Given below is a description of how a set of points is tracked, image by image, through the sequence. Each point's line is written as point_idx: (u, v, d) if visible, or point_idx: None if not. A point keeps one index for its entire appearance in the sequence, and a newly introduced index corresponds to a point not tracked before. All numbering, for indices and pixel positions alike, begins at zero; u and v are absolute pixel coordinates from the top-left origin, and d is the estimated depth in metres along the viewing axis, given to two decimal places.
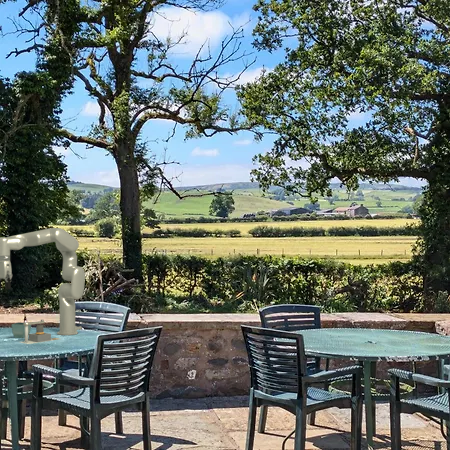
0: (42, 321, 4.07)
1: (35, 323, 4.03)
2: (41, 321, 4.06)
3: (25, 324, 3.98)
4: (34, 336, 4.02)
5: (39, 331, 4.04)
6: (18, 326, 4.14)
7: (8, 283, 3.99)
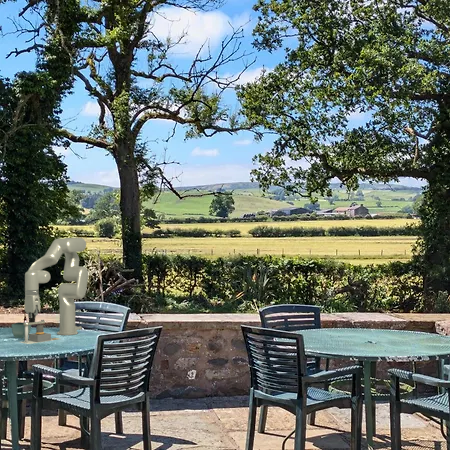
0: (43, 321, 4.06)
1: (35, 323, 4.03)
2: (41, 321, 4.06)
3: (25, 324, 3.98)
4: (34, 336, 4.02)
5: (39, 331, 4.04)
6: (18, 326, 4.14)
7: (33, 319, 4.03)
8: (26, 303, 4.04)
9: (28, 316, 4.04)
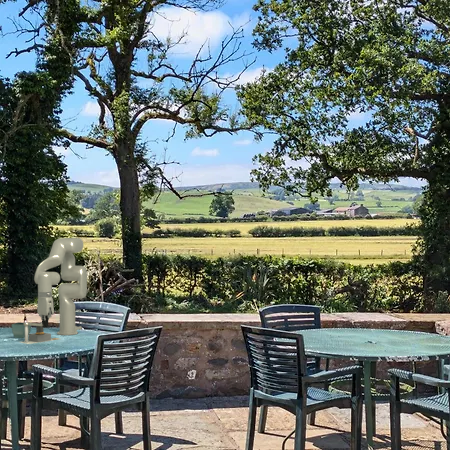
0: (40, 324, 3.94)
1: (33, 325, 3.96)
2: (39, 324, 3.95)
3: None
4: (34, 336, 4.02)
5: (39, 331, 4.04)
6: (18, 326, 4.14)
7: (46, 321, 3.95)
8: (39, 305, 3.96)
9: (41, 319, 3.96)
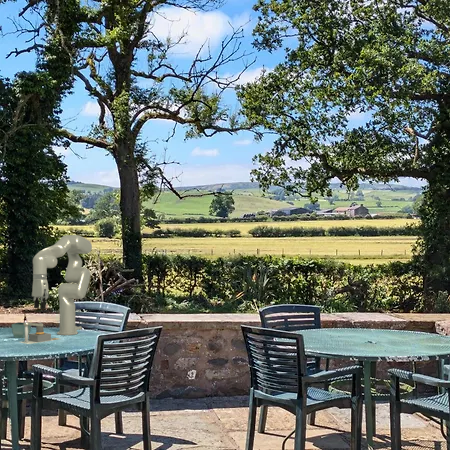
0: (39, 324, 3.94)
1: (33, 325, 3.96)
2: (38, 324, 3.94)
3: None
4: (34, 336, 4.02)
5: (39, 331, 4.04)
6: (18, 326, 4.14)
7: (43, 303, 4.03)
8: (34, 287, 4.06)
9: None
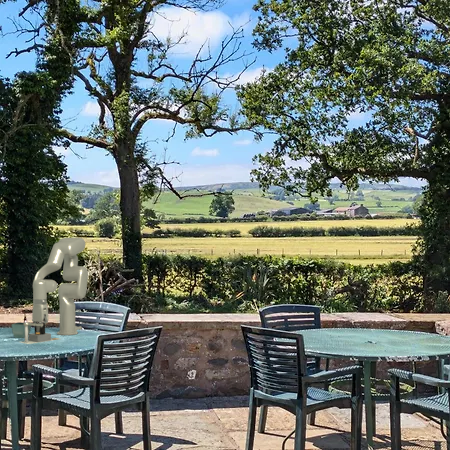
0: (39, 324, 3.94)
1: (33, 325, 3.96)
2: (38, 324, 3.94)
3: None
4: (34, 336, 4.02)
5: (39, 331, 4.04)
6: (18, 326, 4.14)
7: (43, 328, 4.03)
8: (34, 312, 4.05)
9: None
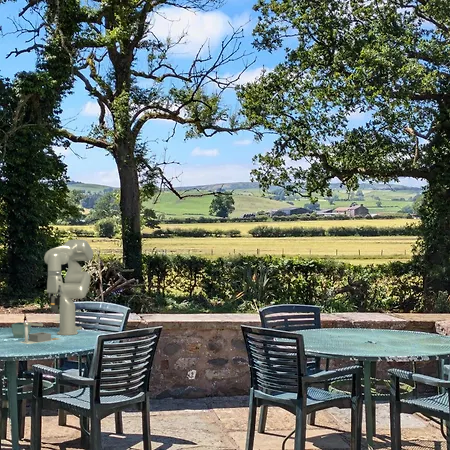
0: (39, 324, 3.94)
1: (33, 325, 3.96)
2: (38, 324, 3.94)
3: None
4: (34, 336, 4.02)
5: (54, 301, 4.11)
6: (18, 326, 4.14)
7: (58, 299, 4.10)
8: (49, 284, 4.12)
9: (49, 296, 4.14)
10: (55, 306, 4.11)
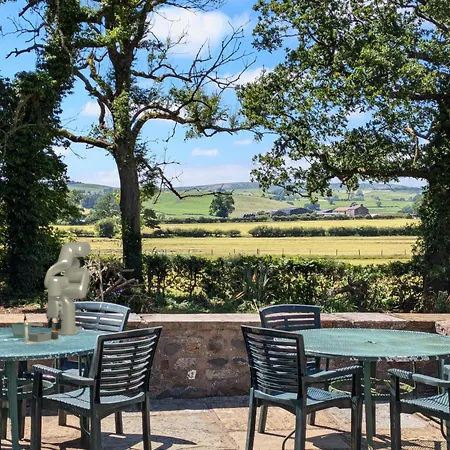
0: (39, 324, 3.94)
1: (33, 325, 3.96)
2: (38, 324, 3.94)
3: None
4: (34, 336, 4.02)
5: (54, 329, 4.11)
6: (18, 326, 4.14)
7: (59, 323, 4.09)
8: (49, 308, 4.12)
9: None
10: (55, 333, 4.11)
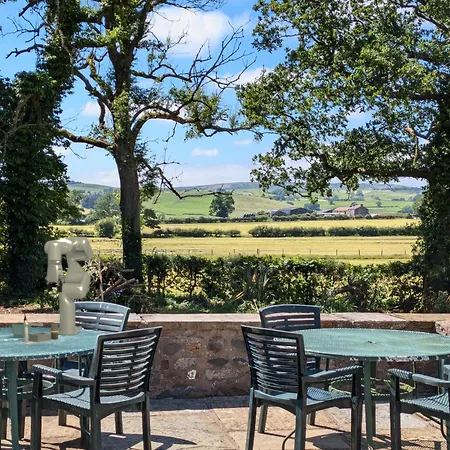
0: (39, 324, 3.94)
1: (33, 325, 3.96)
2: (38, 324, 3.94)
3: None
4: (34, 336, 4.02)
5: (54, 329, 4.10)
6: (18, 326, 4.14)
7: (60, 287, 4.09)
8: (49, 273, 4.12)
9: (47, 283, 4.15)
10: (55, 334, 4.11)
